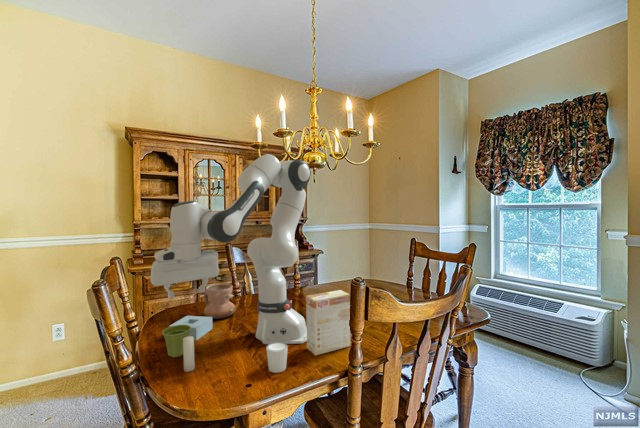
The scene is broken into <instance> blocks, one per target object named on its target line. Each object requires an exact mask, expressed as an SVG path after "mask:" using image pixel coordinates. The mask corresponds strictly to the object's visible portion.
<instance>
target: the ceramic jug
mask: <svg viewBox="0 0 640 428" xmlns="http://www.w3.org/2000/svg"><path fill="white" fill-rule="evenodd" d="M233 287H234V286H233V285H232V284H230V283H229V284H227V283H226V284H224V283H216V284H209V285H207V286H206V287H205V292H204V302H205V305H206V306H205V307H204V309H203V314H204V317H212V320H220V319H225V318H227V317H231V316H232V315H233V314H234V313H235V312H236V309H237V307H236V305H235V304H234V303H233V302H231V301H230V299H233V297H234V294H232V292H233Z"/></svg>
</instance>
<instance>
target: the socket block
mask: <svg viewBox="0 0 640 428" xmlns="http://www.w3.org/2000/svg"><path fill="white" fill-rule="evenodd" d="M176 325H189V326H191V330H190V332H189V336H193V337H194V341H198V340H199V339H200V338H202V337H203V336H205V335H206V334H207V333H209V332H210V331H212V330H213V326H214V325H213V319H212V317H207V316H200V315H197V316H196V315H186V316H184V317H182V318H181V319H179V320H177V321H175V322H174V323H172V324H170V325H168V327H171V326H176Z"/></svg>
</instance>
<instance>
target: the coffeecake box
mask: <svg viewBox="0 0 640 428" xmlns="http://www.w3.org/2000/svg"><path fill="white" fill-rule="evenodd" d="M350 296H351V295H350V293H348V292H346V291H344V290H342V289H337V290H331V291H326V292H322V293H321V292H320V293H315V294H309V295H308V294H307V295H306V296H305V303H306V304H305V309H306V312H305V313H306V316H305V317H306V318H305V319H306V327H307V341H306V348H307V350H308V351H309V352H311V353H312V354H313V355H314V356H320V355H322V354H326V353H330V352H334V351H336V350H340V349H345V348H349V347H352V346H351V331H350V326H349V320H350V306H351V305H350V304H351V299H350V298H351V297H350Z"/></svg>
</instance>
